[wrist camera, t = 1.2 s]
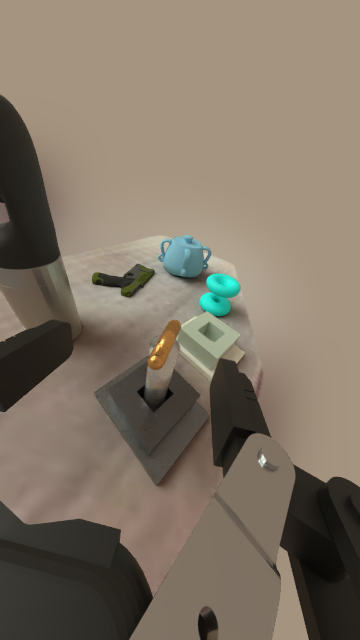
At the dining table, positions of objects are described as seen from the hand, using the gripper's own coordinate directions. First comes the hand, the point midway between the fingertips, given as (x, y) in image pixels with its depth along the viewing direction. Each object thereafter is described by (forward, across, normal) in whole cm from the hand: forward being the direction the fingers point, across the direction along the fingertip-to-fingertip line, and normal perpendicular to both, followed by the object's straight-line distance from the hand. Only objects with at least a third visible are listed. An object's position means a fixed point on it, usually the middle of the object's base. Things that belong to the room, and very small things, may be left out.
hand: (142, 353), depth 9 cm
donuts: (+46, -10, +12) cm, 48 cm away
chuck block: (+13, 0, +21) cm, 25 cm away
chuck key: (+12, 0, +20) cm, 23 cm away
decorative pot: (+63, +4, +6) cm, 64 cm away
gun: (+49, +21, +10) cm, 54 cm away
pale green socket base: (+28, -8, +17) cm, 34 cm away
